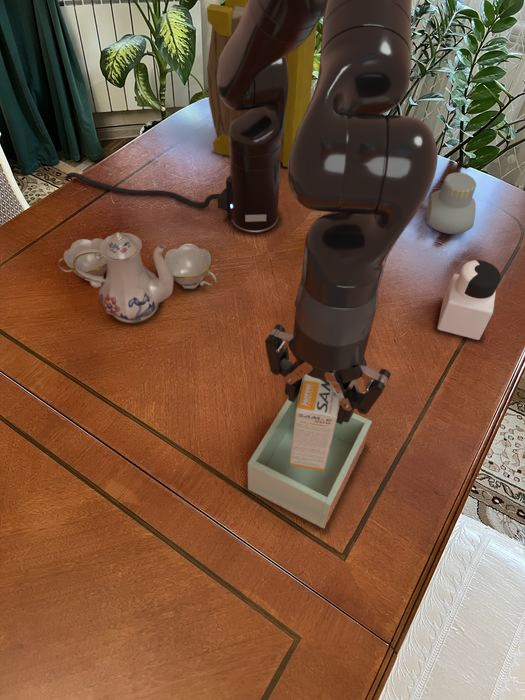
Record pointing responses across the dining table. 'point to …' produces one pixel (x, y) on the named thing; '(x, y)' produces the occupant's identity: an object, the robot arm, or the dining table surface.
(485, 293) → the bust figurine
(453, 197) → the air freshener
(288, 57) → the decorative book
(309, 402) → the supplement box
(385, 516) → the dining table surface
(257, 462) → the holder
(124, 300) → the chinaware
